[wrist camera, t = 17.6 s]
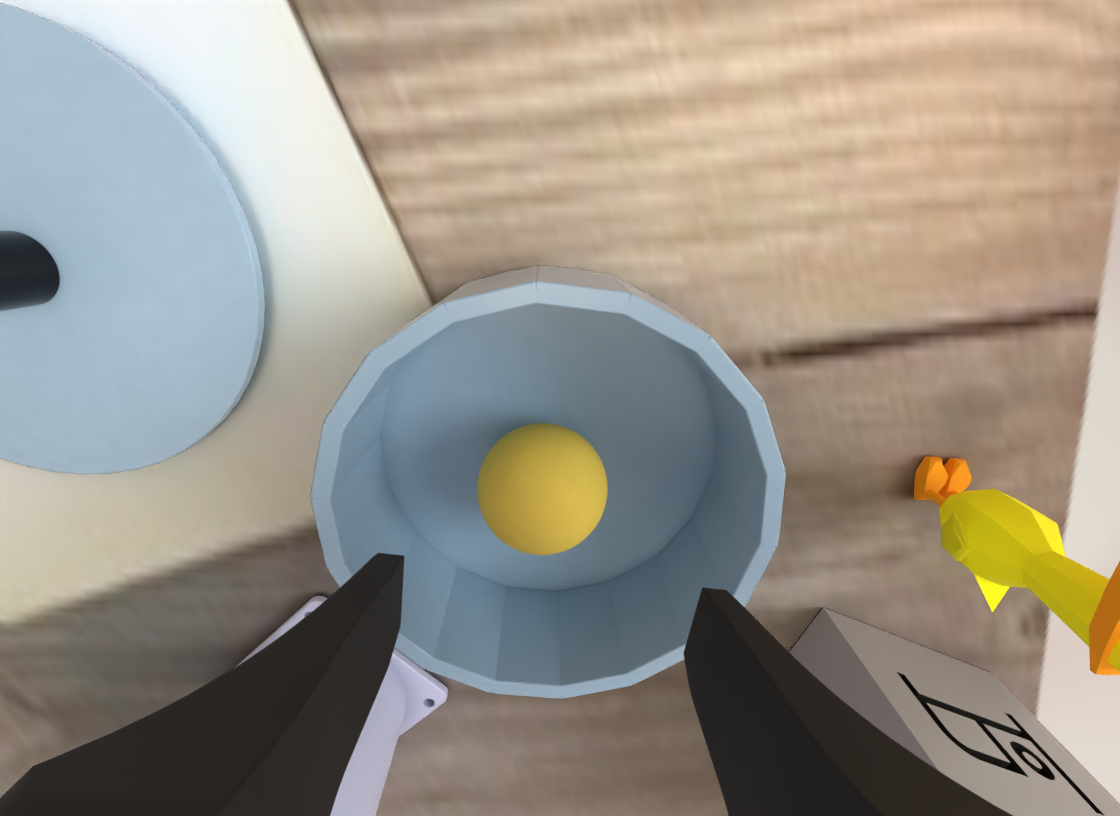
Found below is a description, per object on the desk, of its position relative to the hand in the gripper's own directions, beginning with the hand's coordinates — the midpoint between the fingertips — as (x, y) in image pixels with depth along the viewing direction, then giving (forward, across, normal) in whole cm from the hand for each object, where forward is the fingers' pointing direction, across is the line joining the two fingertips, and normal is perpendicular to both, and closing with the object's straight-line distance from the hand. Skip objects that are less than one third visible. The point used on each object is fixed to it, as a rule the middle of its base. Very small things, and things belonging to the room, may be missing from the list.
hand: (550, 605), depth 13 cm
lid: (+9, +18, -5) cm, 21 cm away
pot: (+9, 0, 0) cm, 9 cm away
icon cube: (+9, -17, +12) cm, 23 cm away
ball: (+6, 0, 0) cm, 6 cm away
